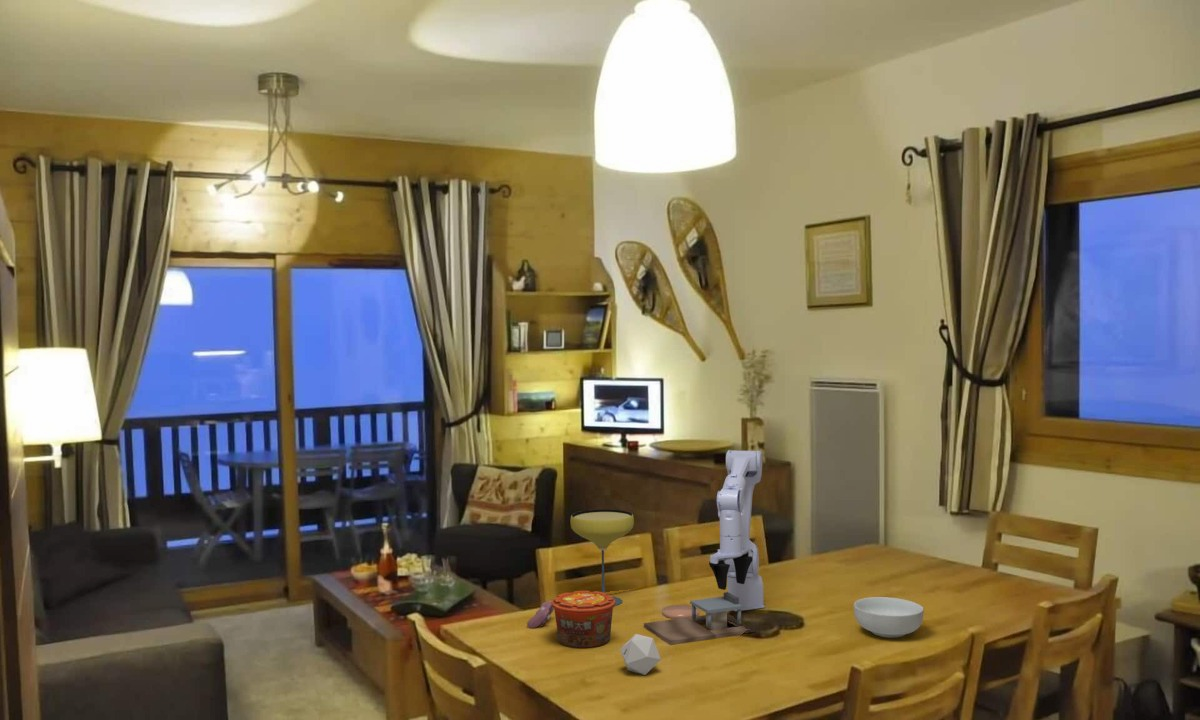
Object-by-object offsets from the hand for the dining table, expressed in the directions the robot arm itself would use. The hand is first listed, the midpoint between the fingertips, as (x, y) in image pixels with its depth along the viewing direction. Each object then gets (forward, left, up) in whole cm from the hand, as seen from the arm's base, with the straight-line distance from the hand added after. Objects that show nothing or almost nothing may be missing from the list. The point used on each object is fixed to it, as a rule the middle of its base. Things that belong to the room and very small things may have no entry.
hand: (731, 586), depth 257 cm
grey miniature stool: (+6, +3, -8) cm, 10 cm away
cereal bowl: (-31, +25, -10) cm, 41 cm away
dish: (+9, -12, -10) cm, 18 cm away
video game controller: (+46, -20, -10) cm, 51 cm away
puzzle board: (+11, +3, -10) cm, 15 cm away
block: (+6, +3, -10) cm, 12 cm away
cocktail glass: (+24, -32, -10) cm, 41 cm away
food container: (+41, -1, -10) cm, 42 cm away
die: (+37, +25, -10) cm, 45 cm away
